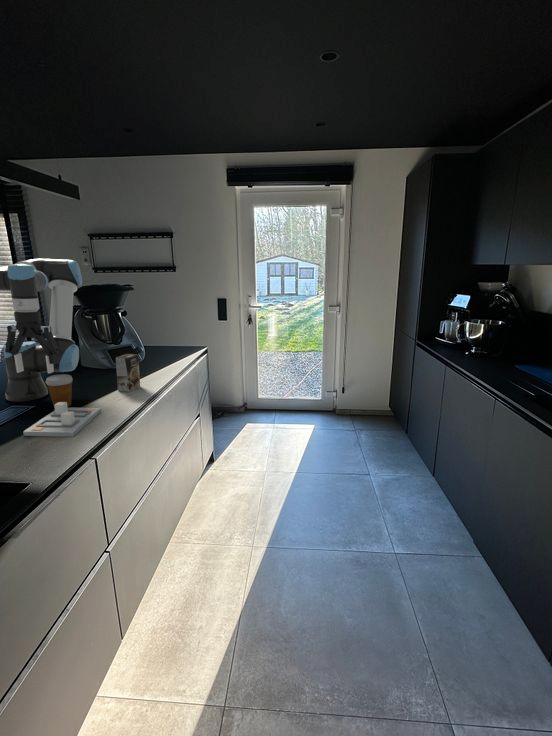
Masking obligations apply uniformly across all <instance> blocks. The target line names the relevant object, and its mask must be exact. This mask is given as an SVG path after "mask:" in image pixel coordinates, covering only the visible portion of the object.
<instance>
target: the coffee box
mask: <svg viewBox="0 0 552 736" xmlns="http://www.w3.org/2000/svg"><path fill="white" fill-rule="evenodd" d="M139 361H140V360H139V353H138V354H137V353H124V354H122V355H119V356H116V357H115V367H116V370H115V371H116V381H117V391H121V392H127V393H130V392H132V391H134V390H136V389H138V388H140V387H141V377H140V375H141V374H140V362H139Z"/></svg>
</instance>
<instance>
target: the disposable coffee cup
mask: <svg viewBox="0 0 552 736" xmlns="http://www.w3.org/2000/svg"><path fill="white" fill-rule="evenodd" d="M45 385H47V389H48V393H49V395H50V399H51V402H52V405H53V407H54V405H55V404H56V403H58V402H67V407H68V408H69V406H71V405H72V390H73V388H72V387H73V386H72V385H73V377H72V375H70V374H65V373H63V374H54V375H50V376H48V377H47V378H46V379H45Z"/></svg>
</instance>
